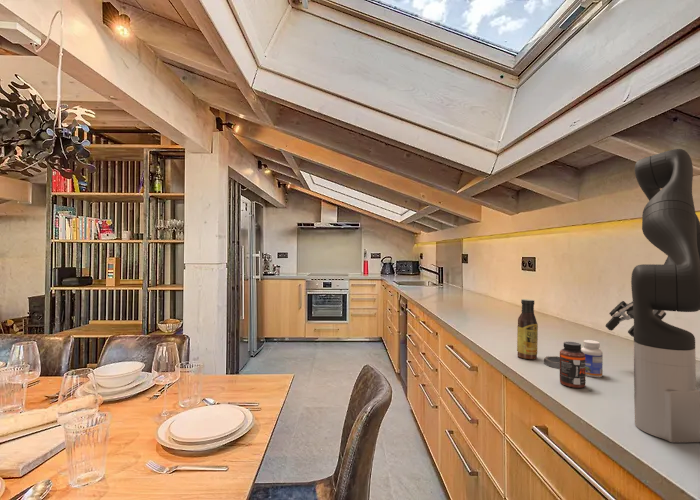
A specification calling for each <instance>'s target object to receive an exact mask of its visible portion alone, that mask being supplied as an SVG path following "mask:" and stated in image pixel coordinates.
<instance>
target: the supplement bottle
mask: <svg viewBox="0 0 700 500" xmlns="http://www.w3.org/2000/svg"><path fill="white" fill-rule="evenodd" d="M581 348H582V344H581V343H580V342H576V341H575V342H574V341H564V342H563V348H562V349H560V351H559V357H560V362H559V363H560V369H559V383H560V384H561V385H563V386H566V387H568V388H574V389H583V388H585V387H586V382H587V381H586V374H585V354H584V353H583V352H582V351H581Z"/></svg>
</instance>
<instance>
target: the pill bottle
mask: <svg viewBox="0 0 700 500" xmlns="http://www.w3.org/2000/svg"><path fill="white" fill-rule="evenodd" d="M583 346H584V347H582V346H581V351H582V352H583V353H584V354H585V374H586V375H585V377H590V378H591V377H592V378H601V377H603V372H604V371H603V364H604V363H603V360H604V359H603V351H602V349H600V348H601V343H600V342H599V341H597V340H591V339H584V340H583Z"/></svg>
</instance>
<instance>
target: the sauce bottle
mask: <svg viewBox="0 0 700 500" xmlns="http://www.w3.org/2000/svg"><path fill="white" fill-rule="evenodd" d="M520 302H521V314H519V316H518V318H517V327H516V328H517V333H516V334H517V337H516V338H517V340H516V342H517V343H516V344H517V345H516V346H517V347H516V351H517V354H516V355H517V357H518V358H520V359H524V360H535V359H537V358H538V340H539V339H538V338H539V336H538V335H539V334H538V332H539V331H538V330H539V329H538V328H539V324H538V321H537V318H536V316H535V306H534V305H535V300H534V299H529V298H528V299H527V298H526V299H521V301H520Z"/></svg>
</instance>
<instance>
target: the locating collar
mask: <svg viewBox="0 0 700 500" xmlns="http://www.w3.org/2000/svg"><path fill="white" fill-rule="evenodd" d="M543 364H544V365H546V366H548V367H551V368H555V369H559V370H560V356H556V355H555V356H554V355H553V356H551V355H550V356H549V355H548V356H546V357H545V356H544V358H543Z"/></svg>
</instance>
